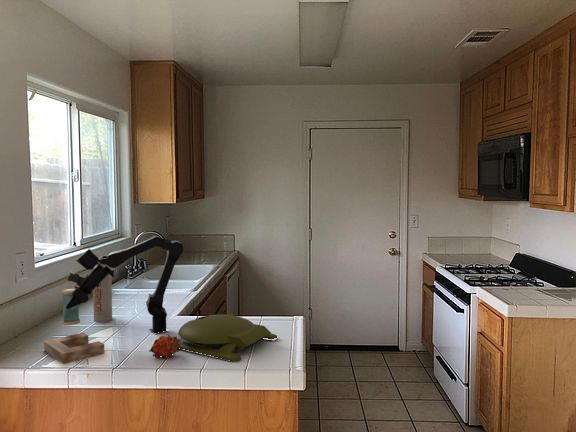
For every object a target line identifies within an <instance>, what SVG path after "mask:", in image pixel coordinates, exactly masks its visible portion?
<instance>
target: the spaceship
mask: <svg viewBox="0 0 576 432" xmlns="http://www.w3.org/2000/svg"><path fill="white" fill-rule="evenodd" d="M178 336H179V337H180V339H183V340H185V341H182V342H181V341H180V342H181V343H180V349H185V350H189V351H193V352H198V353H202V354H206V355H211V356H214V357H218V358H222V359H226V360H230V361H229V362H231V361H237V360H239V361H241V360H242V355H241V354H239V353H236V352H234V351H242V350H244V349H245V348H247V347H249V346H251V345H253V344H255V343H256V342H257V343H258V341H261V340H262V339H263V338H268V339H274V338H277V336H278V335H277V334H275V333H272V332H271V331H270V330H269V329H268V328H267V327H266V326H265V325H260V324H255V323H253V322H252V321H250V320H249V319H247V318H244V317H241V316H237V315H232V314H209V315H205V316H204V315H203V316H200V317H197V318H195V319H191V320H189V321H187V322H185V323H184V324H183V325H182V326H181V327H180V328H179V329H178ZM190 342H191V343H190ZM195 343H196V344H195ZM199 344H202V345H199ZM203 344H204V345H203ZM205 345H221V347H220V348H213V347H209V346H205ZM218 358H217V359H218ZM222 359H221V360H222ZM226 360H225V361H226ZM237 362H238V361H237Z"/></svg>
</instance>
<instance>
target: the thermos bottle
mask: <svg viewBox="0 0 576 432" xmlns="http://www.w3.org/2000/svg"><path fill="white" fill-rule="evenodd" d="M100 264H101V263H100ZM102 265H103V264H102ZM97 266H98V264H97V265H96V266H95V267H94V268H93V270H94V269H95V268H96V267H97ZM103 266H105V265H103ZM106 266H108V265H106ZM108 267H109V266H108ZM109 268H110V269H111V267H109ZM112 285H113V284H112V276H111V275H110V274H109V275H108V276H107V277H106V278H105V279H104V280H103V281H102V282H101V283H100V284H99V286H98V287H96V288H95V289H94V290H93V291H92V294H93V295H92V296H93V297H92V299H93V301H92V302H93V321H95V322H99V323H100V322H107V321H112V319H113V294H112V293H113V292H112V291H113V289H112V288H113V287H112Z"/></svg>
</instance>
